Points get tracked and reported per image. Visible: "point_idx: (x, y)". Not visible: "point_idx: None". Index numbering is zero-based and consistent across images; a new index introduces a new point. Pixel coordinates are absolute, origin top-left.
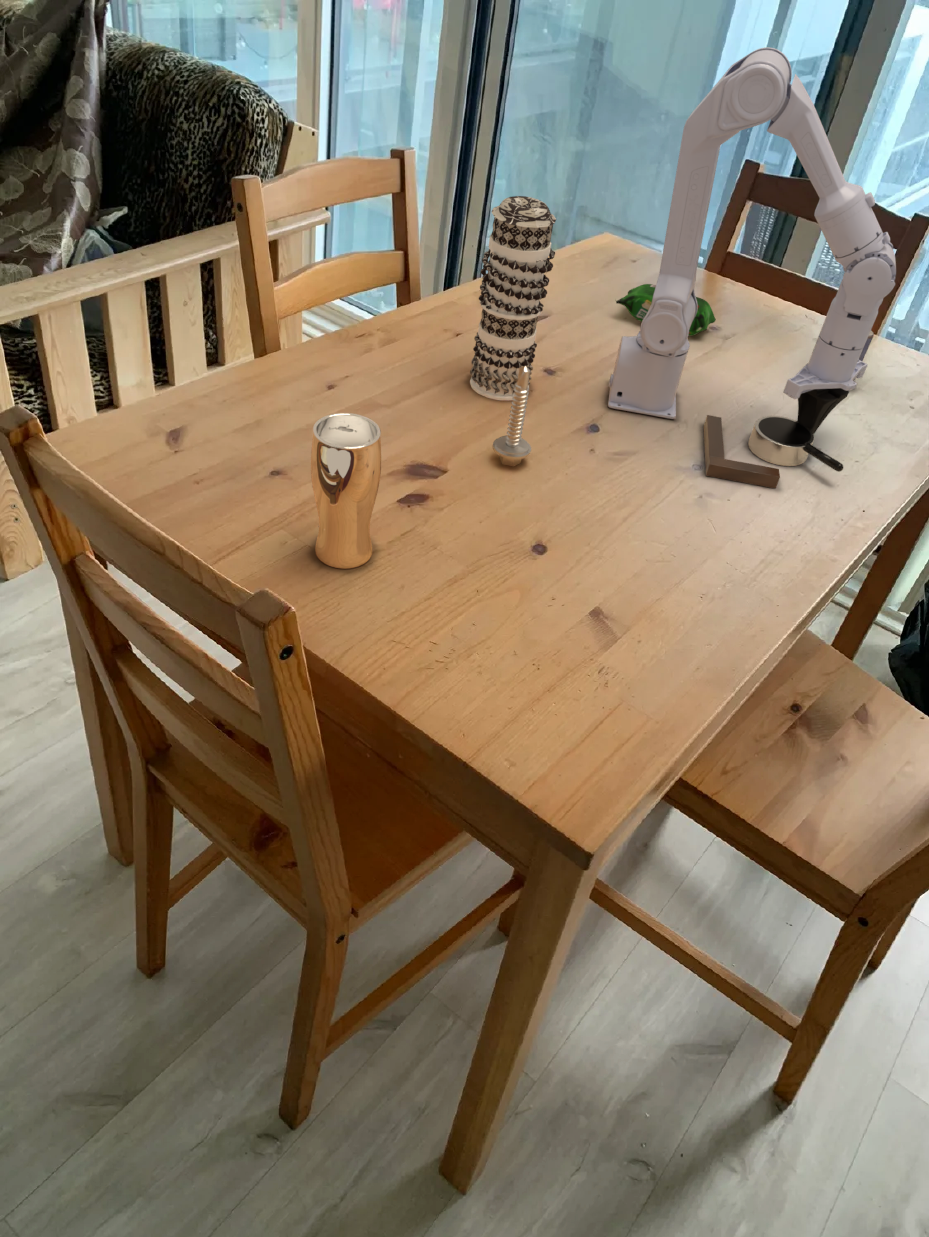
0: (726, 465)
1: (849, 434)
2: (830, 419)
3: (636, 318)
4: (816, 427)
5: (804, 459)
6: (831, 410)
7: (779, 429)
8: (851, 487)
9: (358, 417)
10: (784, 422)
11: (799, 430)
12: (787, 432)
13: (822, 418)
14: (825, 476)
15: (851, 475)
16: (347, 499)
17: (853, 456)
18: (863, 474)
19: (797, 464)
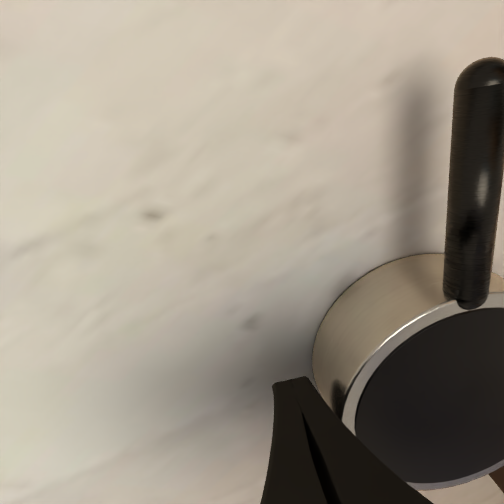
0: None
1: (43, 381)
2: (60, 465)
3: None
4: (298, 407)
5: (403, 266)
6: (269, 496)
7: (474, 415)
8: (339, 41)
9: None
10: (409, 451)
11: (401, 398)
12: (465, 394)
13: (304, 448)
14: (380, 159)
15: (260, 129)
16: None
17: (138, 251)
18: (194, 117)
19: (430, 255)
